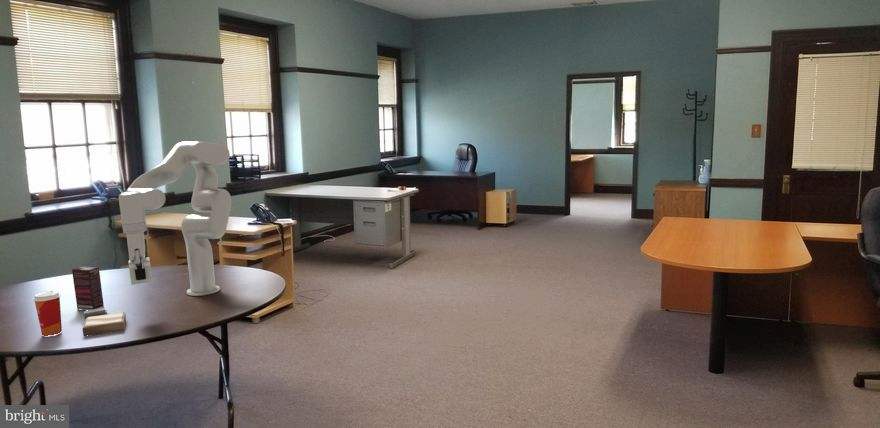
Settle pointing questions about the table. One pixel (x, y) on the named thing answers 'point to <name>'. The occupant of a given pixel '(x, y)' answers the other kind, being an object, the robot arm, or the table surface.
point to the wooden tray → (104, 324)
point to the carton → (147, 271)
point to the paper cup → (49, 312)
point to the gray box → (94, 312)
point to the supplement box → (88, 288)
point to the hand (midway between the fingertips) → (141, 277)
